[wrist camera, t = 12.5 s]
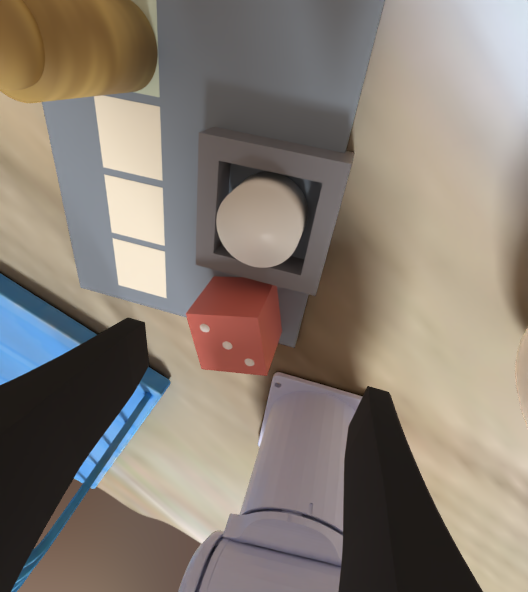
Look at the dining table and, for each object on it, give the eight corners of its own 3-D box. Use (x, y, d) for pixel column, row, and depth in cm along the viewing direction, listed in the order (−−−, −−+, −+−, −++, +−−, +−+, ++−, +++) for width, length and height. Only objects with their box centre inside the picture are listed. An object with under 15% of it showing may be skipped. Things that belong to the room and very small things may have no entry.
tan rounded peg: (158, 99, 17) (22, 120, 10) (91, 83, 17) (-76, 94, 11) (156, 2, 14) (-15, -45, 8) (80, -13, 15) (-136, -68, 9)
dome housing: (321, 274, 20) (315, 296, 18) (211, 246, 21) (195, 264, 19) (354, 152, 16) (351, 163, 14) (218, 125, 17) (198, 132, 15)
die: (282, 331, 23) (266, 377, 19) (224, 327, 24) (200, 370, 20) (276, 278, 20) (257, 319, 17) (213, 276, 22) (184, 315, 18)
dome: (299, 254, 19) (291, 276, 17) (229, 237, 19) (214, 256, 17) (315, 181, 16) (308, 196, 15) (236, 164, 17) (218, 176, 15)
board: (296, 342, 24) (294, 348, 23) (86, 283, 26) (80, 287, 25) (385, -5, 13) (386, -8, 13) (19, -56, 15) (8, -60, 15)
